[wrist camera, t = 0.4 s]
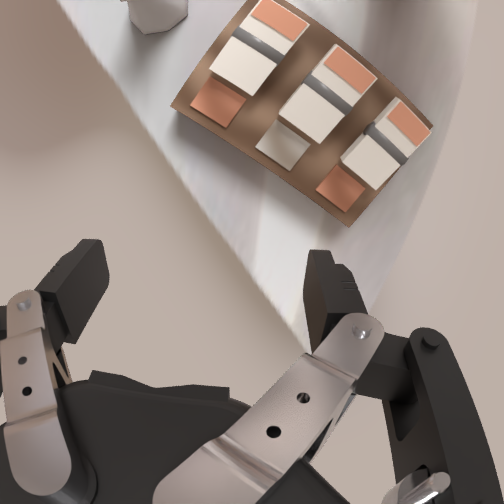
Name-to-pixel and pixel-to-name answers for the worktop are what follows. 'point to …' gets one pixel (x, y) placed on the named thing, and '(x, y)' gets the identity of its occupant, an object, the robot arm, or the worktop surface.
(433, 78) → the worktop surface
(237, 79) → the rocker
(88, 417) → the robot arm
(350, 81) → the rocker
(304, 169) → the switch unit
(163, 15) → the flask
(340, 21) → the worktop surface
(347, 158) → the rocker
